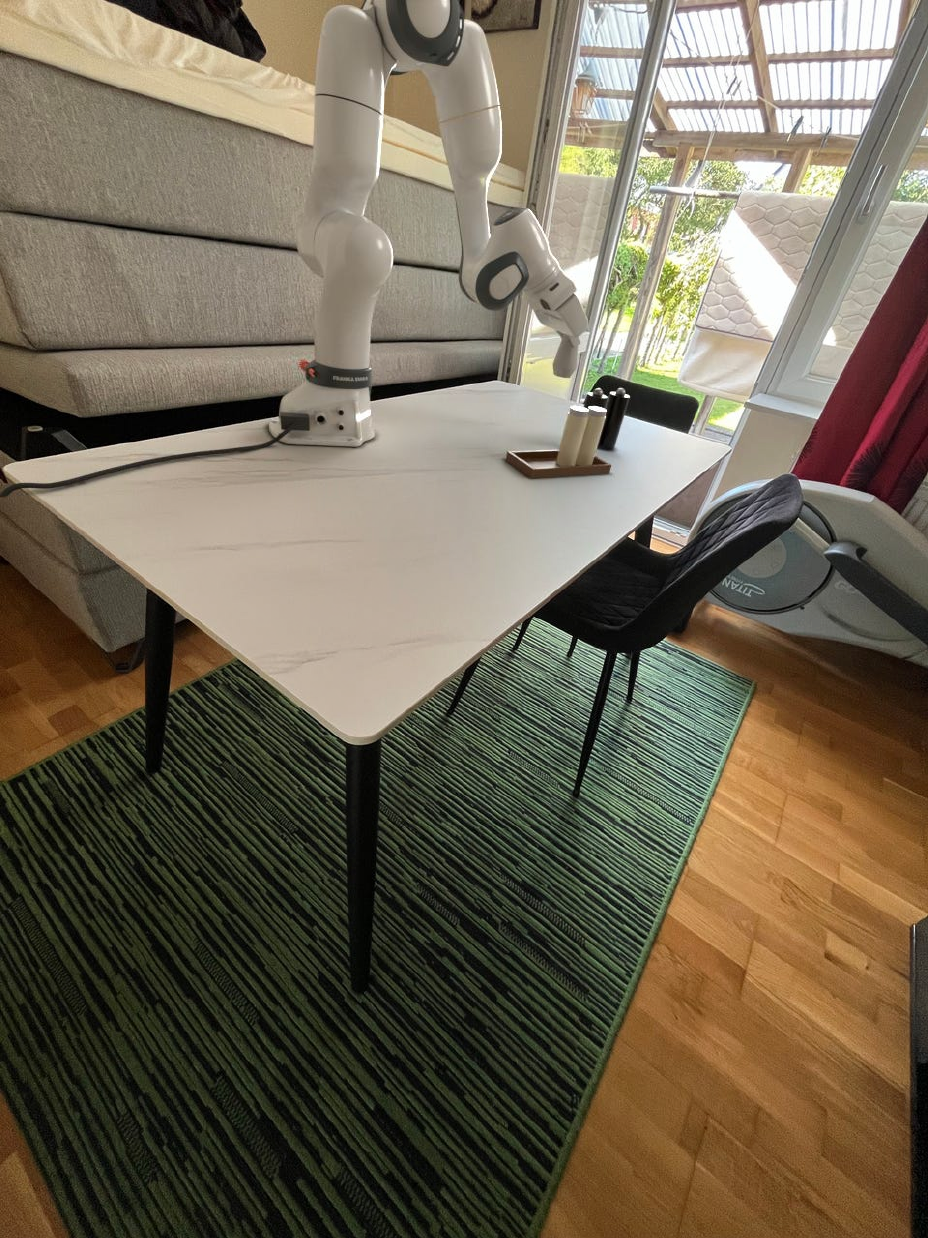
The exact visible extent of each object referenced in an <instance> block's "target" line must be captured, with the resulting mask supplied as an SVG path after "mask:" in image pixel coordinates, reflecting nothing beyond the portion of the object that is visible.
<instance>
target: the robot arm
mask: <svg viewBox="0 0 928 1238" xmlns="http://www.w3.org/2000/svg"><path fill="white" fill-rule="evenodd" d="M414 71H421V73H422V74H423V75H424V77H425V78H426V81H427V82H428V85H429V87H430V89H431V92H432V95H433V98H434V101H435V110H436V117H437V123H438V128H439V134H440V139H441V143H442V148H443V153H444V156H445V161H446V164H447V167H448V172H449V176H450V179H451V185H452V188H453V193H454V199H455V206H456V213H457V214H456V215H457V221H458V228H459V235H460V243H461V244H460V245H461V258H460V263H459V267H458V268H459V270H458V283H459V287H460V289H461V292H462V293H463V295H464V296H465V297H466V298H467V299H468V300H469V301H471V302H473V303H477V304H478V305H480V306H481V307H483V308H484V309H486V310H488V311H491V312H493V311H494V312H497V311H501V310H504V309H505V308H507V307H508V306H509V305H510V304H511V303H512V302H513V301H514V300H515V299H516V298H517V296H519V294H521V292H522V294H523V296H524V298H525V300H526V302H527V303H528V305H529V307H530V309H531V310H532V311H533V312H534V316H536V319H537V320H538V321H539V323H540V324H541V325H543V326H546V327H547V328H551V329H553V330H554V331H555V333H556V335H558V336H559V337H560V339H561V340H562V338H563V335H564V333H565V334H567V336H568V337H569V339H570V340H569V342H570V343H571V345H572V346H573V347H574V348H576V347H577V346H578V347H579V346H580V345H581V340H580V336H581V335H583V334H584V333H585V332H586V331H587V330H588V329H589V321H588V320H589V319H588V318H587V317H588V316H587V314H586V312H585V310H584V307H583V304H582V302H581V300H580V298H579V296H578V295H577V294H576V292H577V290H578V289H577V285H576V284H575V282H574V281H573V280H572V279H571V278H570V277H568V276H567V275H566V274H565V272H564V271H563V269H561V267H560V263H559V262H558V260H557V259H556V258H555V256H554V255H553V254H552V252H551V249H550V245H549V240H548V239H547V237H546V234H545V232H544V230H543V228H542V227H541V224H540V223H539V220H537V218H536V216H535V214H534V213H533V212H532V210H531V209H530V208H528V207H524V206H518V207H517V206H516V207H514V208H511V209H509V210H508V211H505V212H503V213H502V214H501V215H499V216H498V217H497V219H495V221H494V222H493V223H492V229H491V230H490V222H489V221H490V220H489V212H488V211H489V210H488V199H487V198H488V197H487V196H488V188H489V183H490V180H491V178H492V176H493V173H494V171H495V170H496V168H497V166H498V164H499V161H500V159H501V156H502V140H503V139H502V136H503V134H502V131H503V129H502V118H501V117H502V116H501V107H500V106H499V105H500V101H499V93H498V86H497V79H496V75H495V70H494V64H493V59H492V55H491V51H490V48H489V44H488V40H487V37H486V33H485V32H484V30H483V29H482V27H481V26H480V25H479V24H478V22H476V21H473V20H471V19H465V14H464V10H463V7H462V6H461V4H460V2H459V0H363V3H362V4H361V6H360V8H359V7H357V6H355V5H351V4H339V5H336V6H333V7H332V8H331V9H329V10H328V11H327V13H326V14H325V16H324V17H323V21H322V24H321V30H320V36H319V41H318V49H317V56H316V66H315V78H314V79H315V81H314V105H313V106H314V107H313V109H314V110H313V111H314V112H313V140H312V141H313V143H312V144H313V145H312V161H311V162H312V163H311V170H310V175H309V181H308V187H307V192H306V196H305V197H306V198H305V203H304V208H303V214H302V218H301V220H300V221H299V223H298V226H297V228H296V231H295V245H296V249H297V252H298V254H299V257H300V258H301V260H302V261H303V263H304V264H305V266H307V268H309V270H310V271H312V272H313V273H314V274H315V275H316V276H318V277H320V278H322V279H323V283H322V284H323V285H322V291H321V296H320V301H319V305H318V308H317V310H316V312H315V313H314V317H313V334H314V335H313V338H314V339H313V341H314V359H313V360H312V361H310V362H309V361H308V360H307V359H305V358H302V359H300V361H299V362H298V366H299V368H300V370H302V371H303V372H304V373H305V374H304V375H305V380H304V381H302V382H301V383H299V384H298V385H297V386H296V387H294V388H293V389H292V390H290V391H289V392H288V393H286V394H285V395H283V397H282V399H281V400H280V404H279V410H278V411H279V412H278V417H276V418H271V420H269V423H268V430H269V433H270V434H271V436H273V439H271V440H269V441H266V442H263V443H259V444H254V445H245V446H236V447H229V448H220V449H209V450H200V451H193V452H186V453H178V454H172V455H165V456H160V457H153V458H150V459H149V458H148V459H145V460H140V461H135V462H131V463H126V464H123V465H118V466H114V467H110V468H106V469H103V470H98V471H95V472H91V473H88V474H84V475H80V476H76V477H72V478H68V479H65V480H64V479H63V480H60V481H55V482H18V483H13V484H11V485H9V486H7V487H5V488H4V489H3V490H2V491H1V492H0V498H7V497H8V496H10V494H12V493H13V492H15V491H17V490H22V489H38V490H39V489H41V490H48V489H57V488H62V487H68V486H71V485H75V484H79V483H82V482H85V481H89V480H92V479H96V478H99V477H103V476H108V475H111V474H115V473H119V472H123V471H126V470H130V469H131V470H132V469H135V468H140V467H144V466H148V465H149V466H150V465H153V464H158V463H164V462H169V461H174V460H182V459H189V458H196V457H203V456H211V455H212V456H213V455H214V456H215V455H222V454H224V455H225V454H231V453H237V452H246V451H255V450H259V449H263V448H267V447H269V446H272V445H274V444H276V443H277V442H281V443H284V444H288V445H289V444H290V445H307V446H308V445H309V446H332V447H360V446H361V445H363V443H365V442H367V441H370V440H372V439H373V438H375V436H376V431H375V428H374V422H373V417H372V416H373V415H372V408H371V394H372V386H373V374H372V366H371V364H370V363H371V361H370V359H371V339H372V338H371V337H372V336H371V335H372V333H371V332H372V324H373V318H374V313H375V309H376V304H377V302H378V297H379V294H380V291H381V288H382V286H383V284H384V283H385V282H386V281H387V280H388V278H389V277H390V274H391V272H392V269H393V264H394V253H393V247H392V244H391V241H390V238H389V237H388V234H386V232H385V231H384V230H383V229H382V228H381V227H380V226H379V225H377V224H376V223H375V222H373V221H372V220H371V219H369V218H367V216H364V214H365V210H366V206H367V203H368V200H369V196H370V194H371V192H372V189H373V188H374V186H375V185H376V183H377V181H378V179H379V174H380V165H381V163H380V162H381V152H382V151H381V149H382V137H383V123H384V111H385V110H384V109H385V91H386V88H387V84H388V80H389V77H390V76H402V75H405V74H407V73H409V72H414ZM490 232H491V233H490ZM578 337H579V338H578Z"/></svg>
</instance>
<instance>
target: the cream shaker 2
mask: <svg viewBox="0 0 928 1238" xmlns="http://www.w3.org/2000/svg"><path fill="white" fill-rule="evenodd" d="M588 410H589V413H588V420H587V423H586V427H585V431H584V435H583V438H582V442H581V446H580V449H579V453H578V457H577V460H576V465H579V466H580V465H592V463H593V460H594V457H595V456H596V453H597V449H598V448H597V446H598V443H599V439H600V436H601V433H602V429H603V426H604V422H605V419H606V416H605V415H606V412H607V410H605V409H603V408H600V407H595V406H590V407H589V408H588Z"/></svg>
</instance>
